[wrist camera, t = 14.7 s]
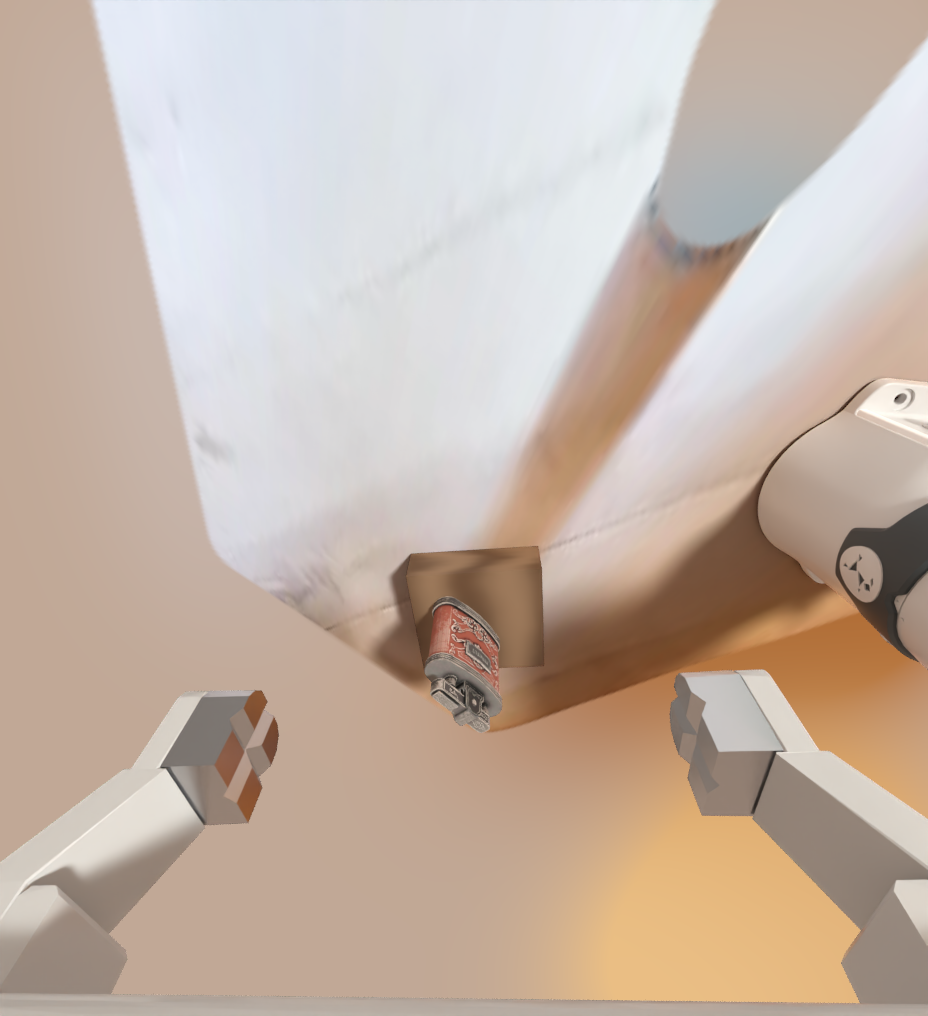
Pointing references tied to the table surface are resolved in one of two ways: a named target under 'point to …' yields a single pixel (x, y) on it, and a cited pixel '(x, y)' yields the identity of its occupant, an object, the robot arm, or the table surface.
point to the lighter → (464, 664)
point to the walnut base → (484, 596)
